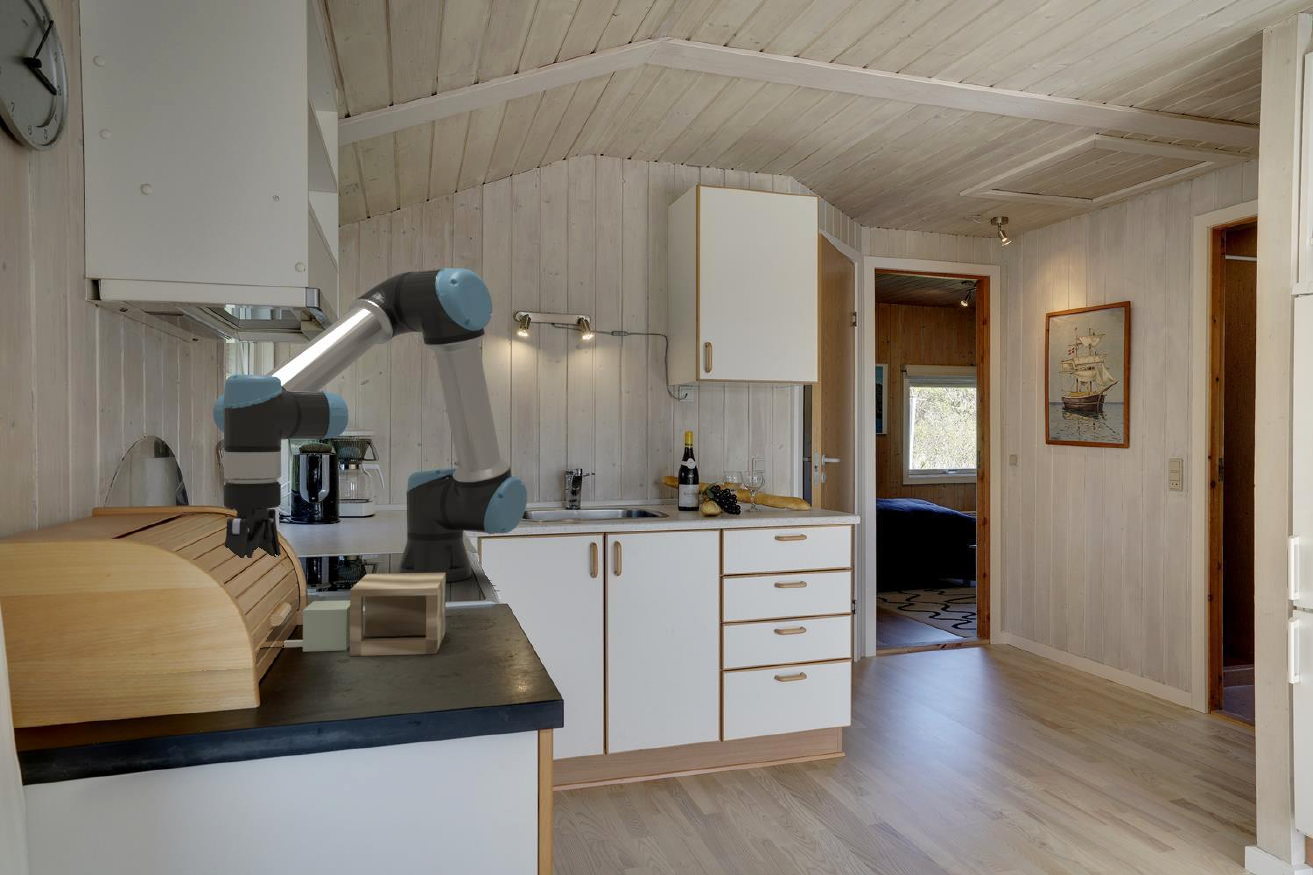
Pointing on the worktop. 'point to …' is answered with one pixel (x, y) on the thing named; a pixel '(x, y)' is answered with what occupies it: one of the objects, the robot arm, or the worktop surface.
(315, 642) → the block with rod
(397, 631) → the open wooden box
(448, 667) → the worktop surface
